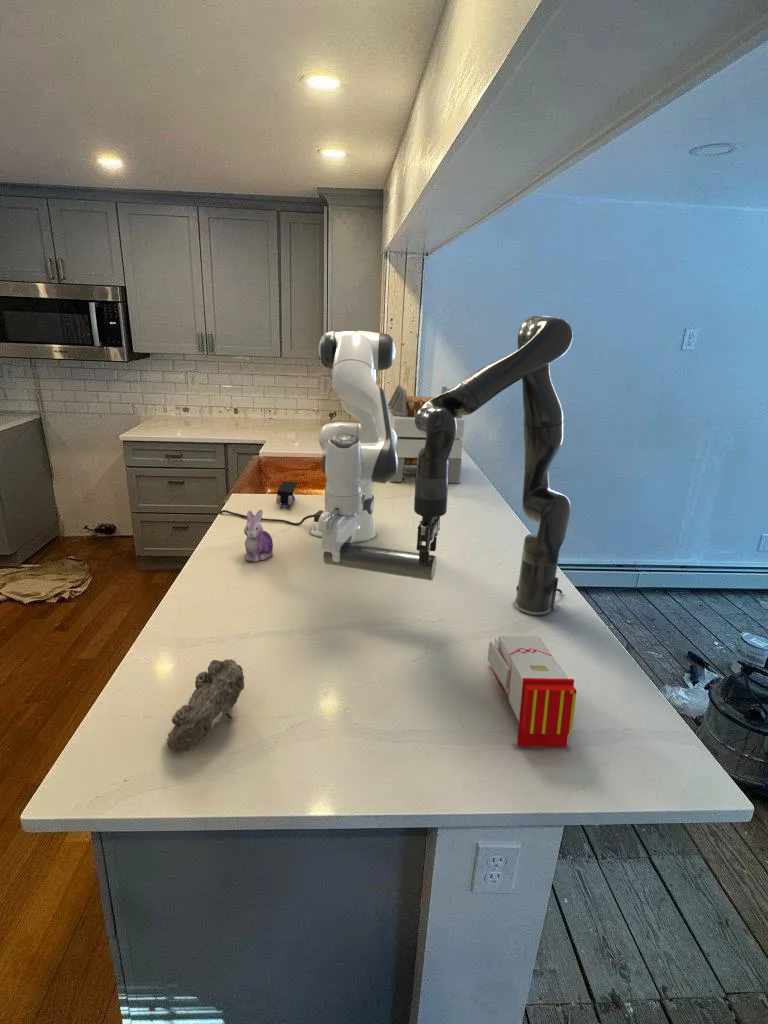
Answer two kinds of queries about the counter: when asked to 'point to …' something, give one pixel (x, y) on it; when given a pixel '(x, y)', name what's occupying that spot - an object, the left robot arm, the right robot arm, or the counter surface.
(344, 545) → the rod
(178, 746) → the fossil
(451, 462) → the transformer
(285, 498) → the figurine character
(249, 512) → the figurine
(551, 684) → the toy
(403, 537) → the counter surface
